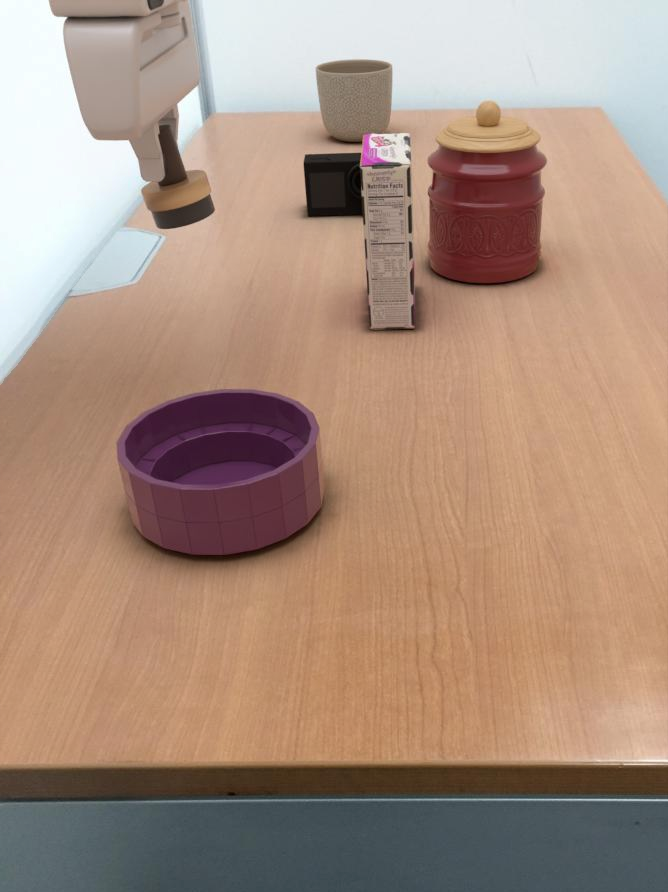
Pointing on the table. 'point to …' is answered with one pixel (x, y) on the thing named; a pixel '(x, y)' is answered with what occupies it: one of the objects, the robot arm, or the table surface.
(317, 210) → the digital camera
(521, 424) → the table surface
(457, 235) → the kitchen canister
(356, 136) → the planter
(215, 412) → the bowl
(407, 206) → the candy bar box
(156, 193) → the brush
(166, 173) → the robot arm
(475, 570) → the table surface
